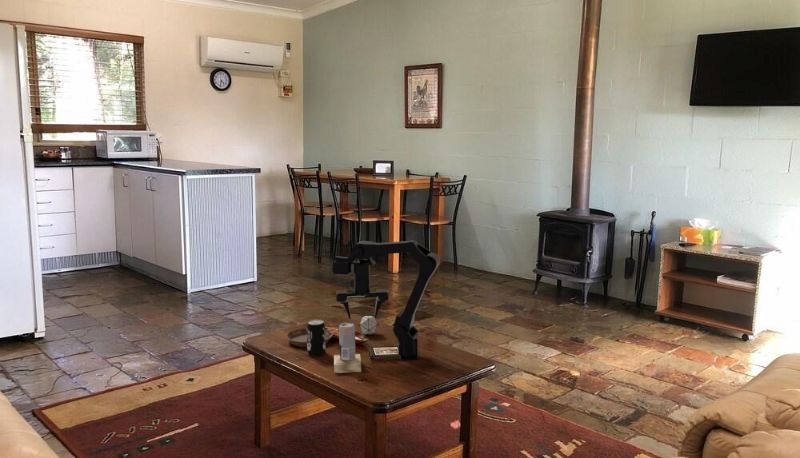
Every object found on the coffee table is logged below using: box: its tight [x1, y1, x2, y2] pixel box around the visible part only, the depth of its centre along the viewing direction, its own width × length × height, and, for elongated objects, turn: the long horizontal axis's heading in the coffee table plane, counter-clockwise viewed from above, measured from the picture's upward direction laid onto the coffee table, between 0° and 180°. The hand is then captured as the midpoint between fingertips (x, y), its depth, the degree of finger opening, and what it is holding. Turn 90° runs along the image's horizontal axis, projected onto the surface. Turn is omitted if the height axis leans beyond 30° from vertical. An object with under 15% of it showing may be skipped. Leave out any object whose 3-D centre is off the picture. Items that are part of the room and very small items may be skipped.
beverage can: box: [306, 319, 326, 357], centre depth 228 cm, size 7×7×12 cm
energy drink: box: [338, 322, 356, 361], centre depth 214 cm, size 5×5×12 cm
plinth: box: [333, 353, 362, 374], centre depth 215 cm, size 9×9×3 cm
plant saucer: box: [285, 327, 333, 348], centre depth 242 cm, size 18×18×3 cm
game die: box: [357, 313, 380, 336], centre depth 249 cm, size 9×8×10 cm
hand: (362, 318), depth 227 cm, fingers open, 9 cm apart
